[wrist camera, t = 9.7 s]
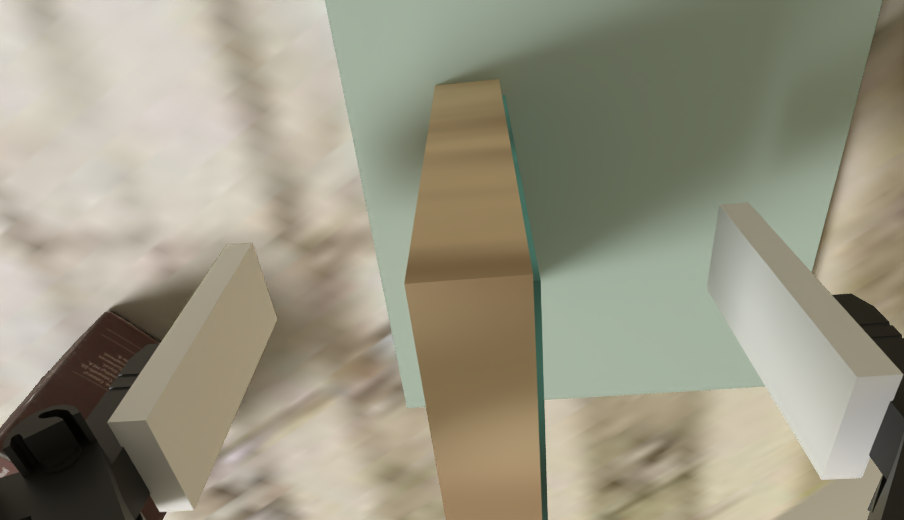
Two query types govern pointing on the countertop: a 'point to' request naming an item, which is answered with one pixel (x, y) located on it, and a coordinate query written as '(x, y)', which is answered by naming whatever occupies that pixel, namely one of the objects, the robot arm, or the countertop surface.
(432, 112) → the tile
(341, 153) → the countertop surface
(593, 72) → the mat
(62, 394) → the box
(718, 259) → the robot arm
